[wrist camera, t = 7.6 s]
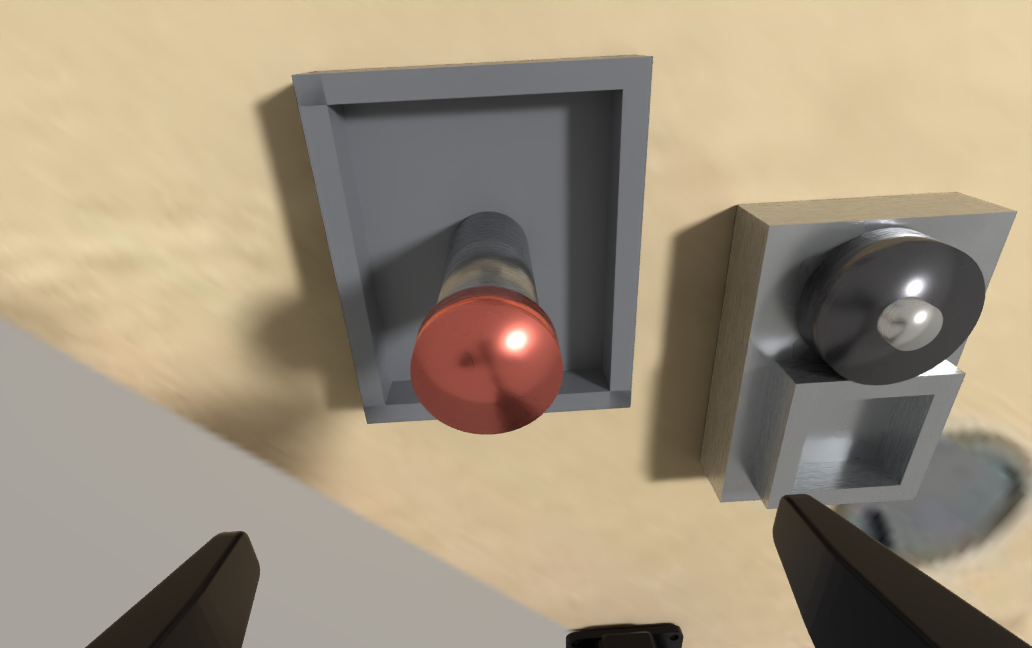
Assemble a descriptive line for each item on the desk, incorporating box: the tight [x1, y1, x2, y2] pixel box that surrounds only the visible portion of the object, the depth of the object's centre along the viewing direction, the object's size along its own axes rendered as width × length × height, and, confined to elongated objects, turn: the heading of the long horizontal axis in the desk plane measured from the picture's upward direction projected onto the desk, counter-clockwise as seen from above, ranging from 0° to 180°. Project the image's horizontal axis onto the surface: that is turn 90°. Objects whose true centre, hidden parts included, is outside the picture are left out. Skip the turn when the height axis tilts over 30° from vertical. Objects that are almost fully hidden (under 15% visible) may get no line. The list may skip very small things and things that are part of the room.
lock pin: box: [410, 211, 563, 434], centre depth 16 cm, size 3×3×8 cm
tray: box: [292, 55, 653, 424], centre depth 19 cm, size 12×10×2 cm
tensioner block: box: [700, 192, 1017, 509], centre depth 20 cm, size 12×8×5 cm, turn 3°
